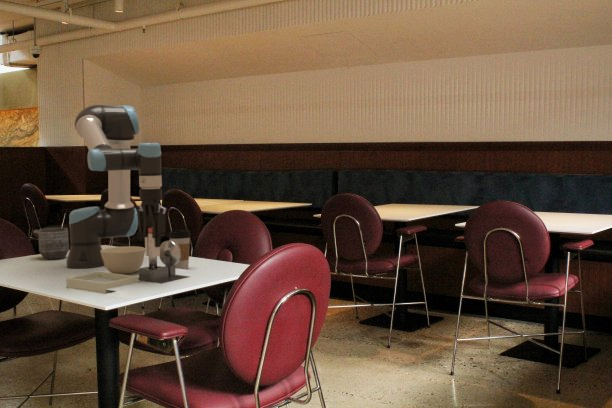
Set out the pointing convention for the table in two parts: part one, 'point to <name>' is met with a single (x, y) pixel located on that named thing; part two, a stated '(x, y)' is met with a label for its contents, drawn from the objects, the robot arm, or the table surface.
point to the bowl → (123, 259)
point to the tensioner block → (169, 258)
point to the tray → (99, 287)
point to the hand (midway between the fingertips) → (152, 255)
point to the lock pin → (151, 259)
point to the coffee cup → (182, 246)
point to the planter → (53, 243)
